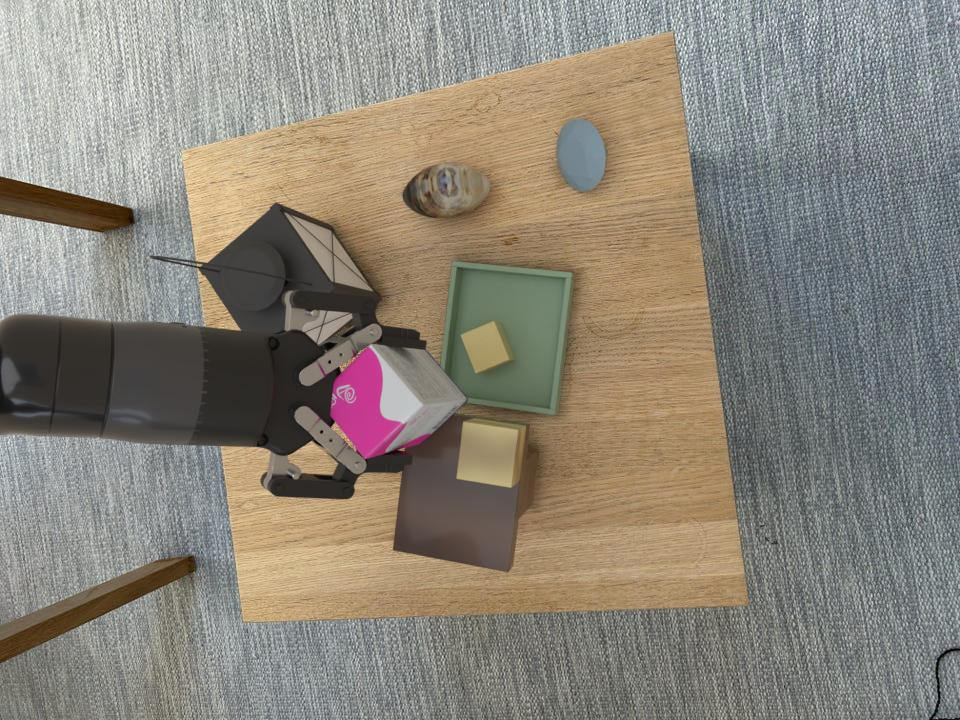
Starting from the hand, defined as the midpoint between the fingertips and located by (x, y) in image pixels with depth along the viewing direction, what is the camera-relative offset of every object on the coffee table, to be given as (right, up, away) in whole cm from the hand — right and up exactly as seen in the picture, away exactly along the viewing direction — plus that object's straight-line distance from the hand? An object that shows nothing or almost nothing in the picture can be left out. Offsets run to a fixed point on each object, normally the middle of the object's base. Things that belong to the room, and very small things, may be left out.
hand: (414, 400), depth 57 cm
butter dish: (+8, +5, +29) cm, 30 cm away
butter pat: (+5, +4, +25) cm, 26 cm away
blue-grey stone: (+16, +25, +27) cm, 40 cm away
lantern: (-14, +11, +34) cm, 39 cm away
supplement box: (0, 0, +6) cm, 6 cm away
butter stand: (+8, -8, +29) cm, 31 cm away
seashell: (+2, +21, +31) cm, 37 cm away
